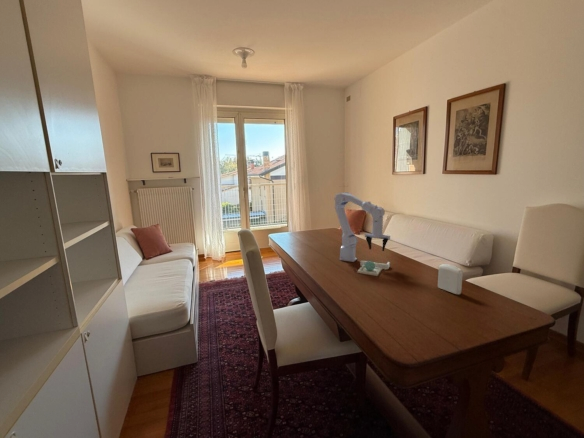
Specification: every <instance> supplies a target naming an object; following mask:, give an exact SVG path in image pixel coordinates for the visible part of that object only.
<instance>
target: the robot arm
mask: <svg viewBox="0 0 584 438" xmlns="http://www.w3.org/2000/svg"><path fill="white" fill-rule="evenodd" d="M349 202H351V203H352V204H355V205H358V207H361V210H363V211H365V212H366V213H368V214H370V215H371V217H372V228H371V229H372V230H371V231H372V233H364V238H365V241H366V242H367V244H368V250H372V240H373V239H382V249H381V251H382V252H384V251H385V249H386V245H387V243H388V242H389V240H390V239H391V235H388V234H387V235H385V234H383V226H384V223H383V222H384V215H385V213H386V212H385V209H384V208H383V207H381V206H378V205H375V204H373V203H372V201H363V200H362V199H360V198H359V197H357V196H355V195H354V194H352V193H349V192H339V193H336V194H335V196H334V210H335V212H336V216H337V219H338V223H339V224H340V227H341V231H342V235H341V239H342V240H341V243H342V245H341V246H340V249H339V260H340V261H343V262H344V261H345V262H351V263H352V262H353V263H354V262H355V261H356V260H357V259H358V258H357V257H356V246H357V243H358V237H357V236H356V235H355V233H354V232H353V231H352V228H351V226H350V223H349V219H348V217H347V214H346V213H347V212H346V211H345V207H346V206H347V204H348V203H349Z"/></svg>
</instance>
